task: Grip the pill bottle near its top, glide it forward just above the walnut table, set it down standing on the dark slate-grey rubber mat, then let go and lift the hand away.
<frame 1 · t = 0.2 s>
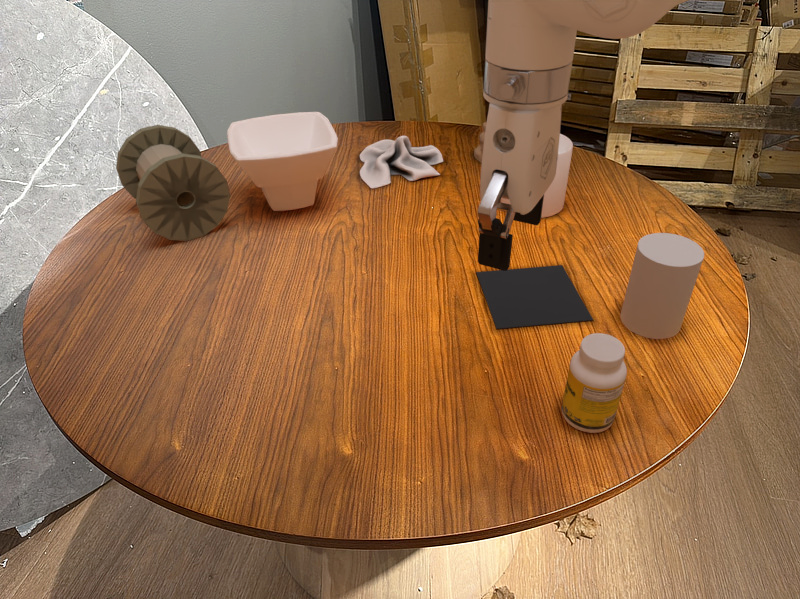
hand: (510, 242, 65), 21 cm above the table, tool pointing down, fingers open, 9 cm apart
cup 2: (531, 203, 116), on the table
mat: (531, 295, 93), on the table
grey upright cylinder: (649, 321, 88), on the table
statue: (501, 159, 131), on the table
cloth: (398, 166, 130), on the table
pill bottle: (586, 416, 74), on the table
bowl: (291, 203, 118), on the table
spool: (182, 219, 114), on the table
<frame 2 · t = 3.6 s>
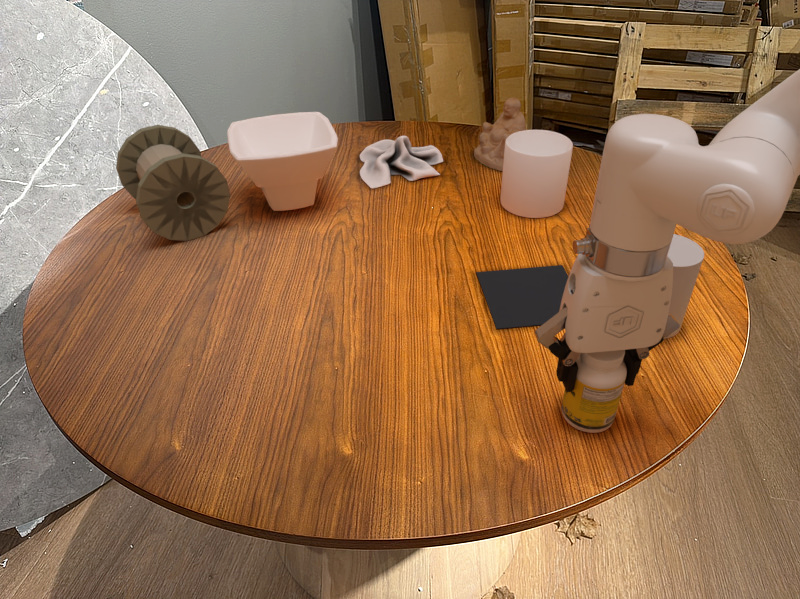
hand: (595, 379, 70), 6 cm above the table, tool pointing down, fingers closed on pill bottle, 6 cm apart
pill bottle: (586, 416, 74), on the table, touching gripper
everything else where it was.
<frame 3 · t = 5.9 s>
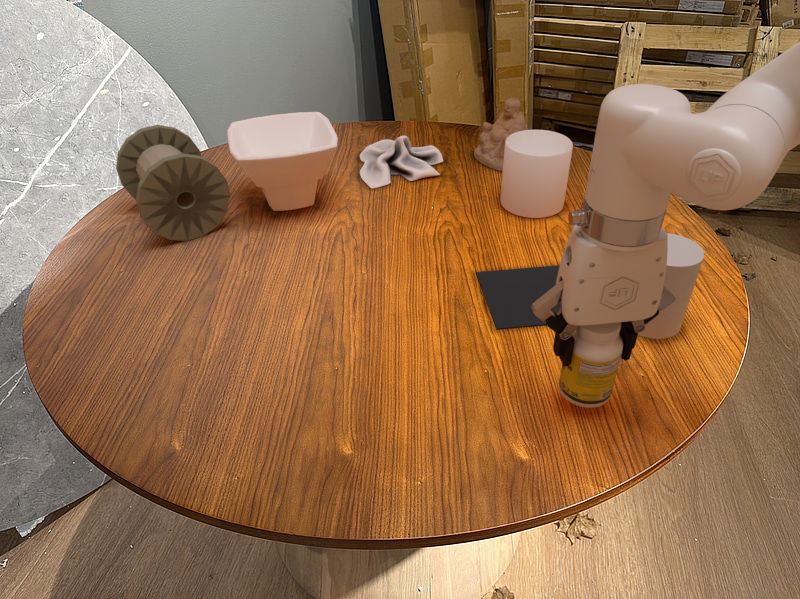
hand: (592, 354, 71), 8 cm above the table, tool pointing down, fingers closed on pill bottle, 6 cm apart
pill bottle: (583, 392, 75), point 2 cm above the table, touching gripper
everything else where it was.
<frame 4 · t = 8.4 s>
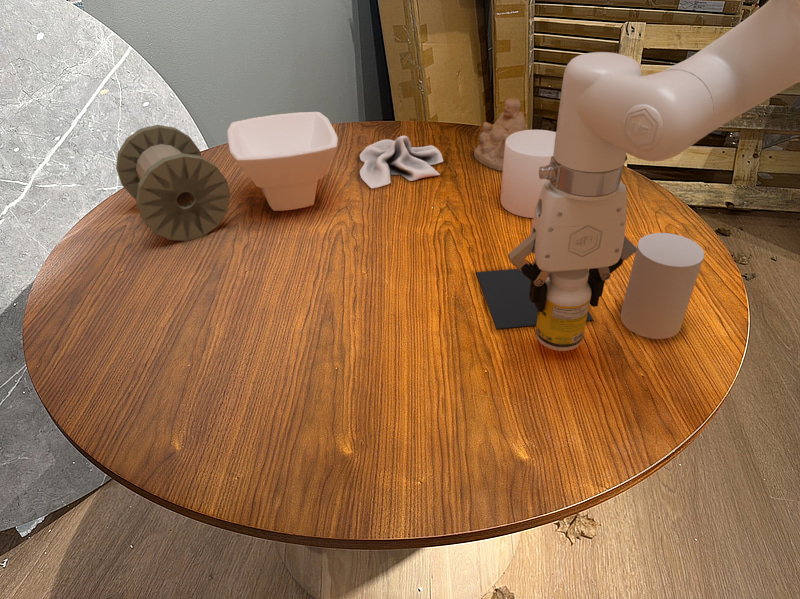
hand: (564, 301, 79), 8 cm above the table, tool pointing down, fingers closed on pill bottle, 6 cm apart
pill bottle: (558, 338, 82), point 2 cm above the table, touching gripper
everything else where it was.
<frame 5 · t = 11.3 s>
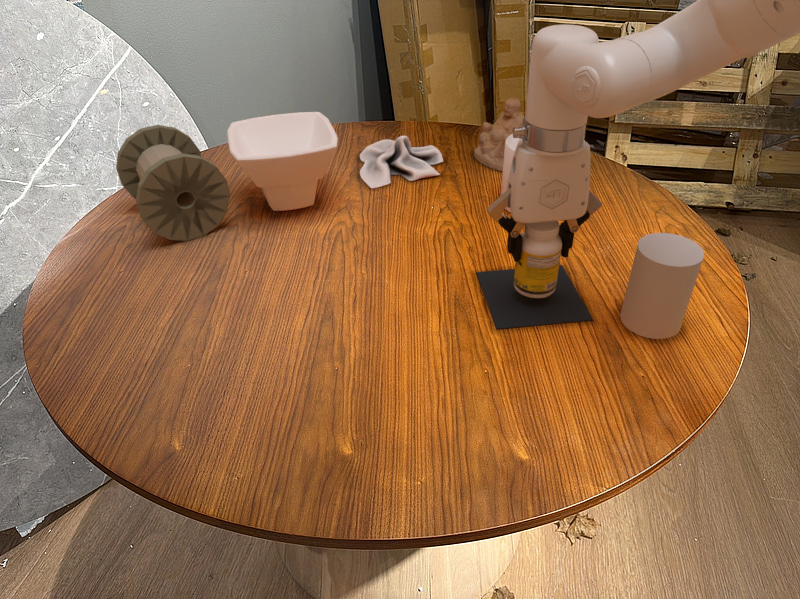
hand: (538, 253, 88), 8 cm above the table, tool pointing down, fingers closed on pill bottle, 6 cm apart
pill bottle: (534, 288, 92), point 2 cm above the table, touching gripper
everything else where it was.
when the fingers open (6 cm above the table, at t = 13.2 s): pill bottle stays where it is, resting on mat.
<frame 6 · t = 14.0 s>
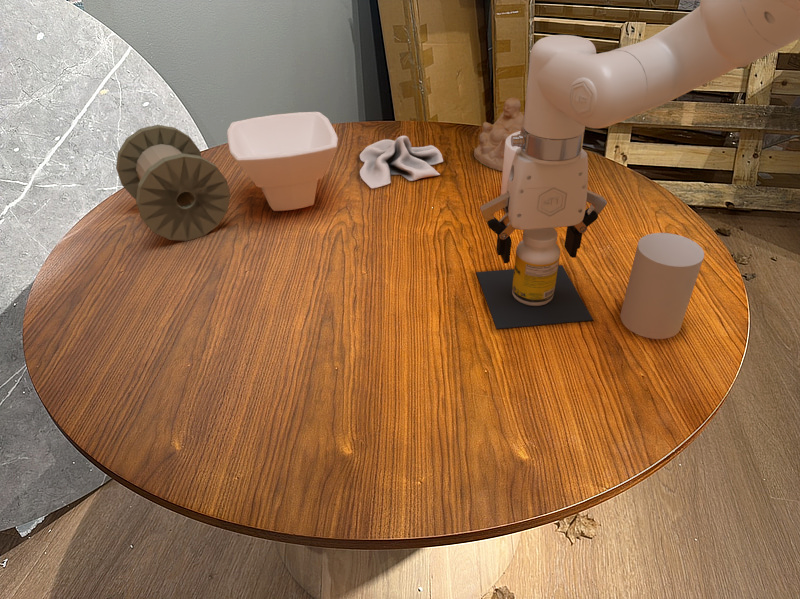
hand: (537, 255, 88), 7 cm above the table, tool pointing down, fingers open, 9 cm apart
pill bottle: (532, 296, 93), resting on mat
everything else where it was.
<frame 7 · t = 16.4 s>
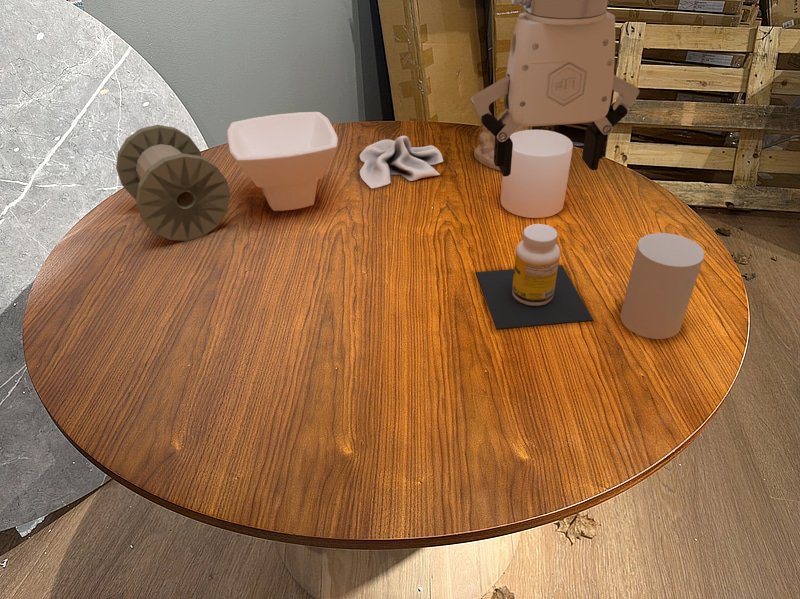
hand: (546, 168, 68), 26 cm above the table, tool pointing down, fingers open, 9 cm apart
nothing on the table moved.
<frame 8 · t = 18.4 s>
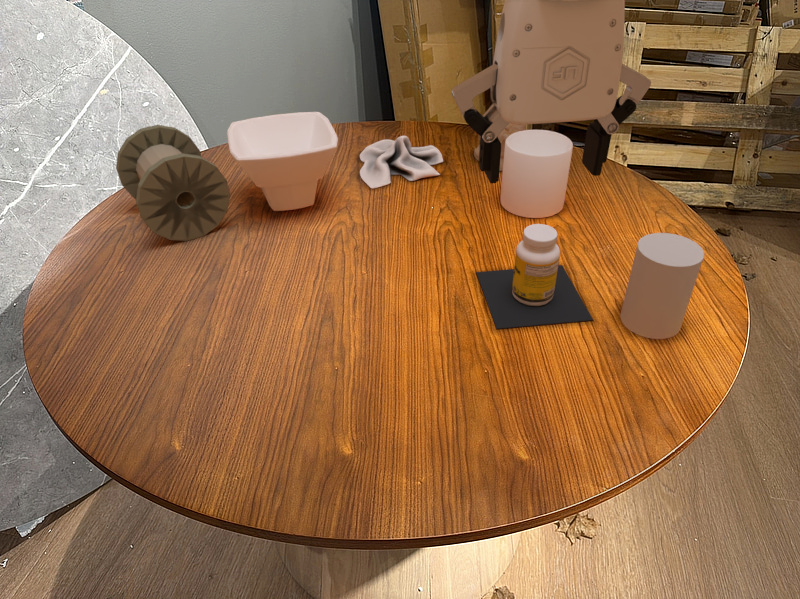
hand: (540, 173, 58), 30 cm above the table, tool pointing down, fingers open, 9 cm apart
nothing on the table moved.
at the end: pill bottle inside the target area on the mat (0.1 cm from its centre), point 0.0 cm above the mat's base; pill bottle tilted 0°; pill bottle moved 23.9 cm from its start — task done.
